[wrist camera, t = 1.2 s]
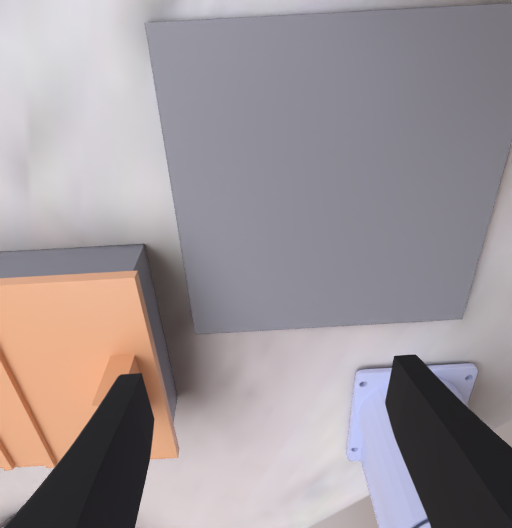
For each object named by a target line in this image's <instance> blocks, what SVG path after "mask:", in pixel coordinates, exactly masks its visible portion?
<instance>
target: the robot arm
mask: <svg viewBox="0 0 512 528" xmlns="http://www.w3.org/2000/svg"><path fill="white" fill-rule="evenodd" d="M477 373H478V369H477V367H476V366H475V365H474V364H472V363H466V364H449V365H432V366H426V365H425V364H424V363H423V361H422V360H421V359H420V358H419V357H418V356H416V355H402V356H394V360H393V365H392V368H379V369H363V370H359V371H358V372H357V373H356V374H355V381H354V389H353V398H352V407H351V416H350V425H349V433H348V442H347V451H346V455H347V459H348V460H349V461H361V464H362V467H363V471H364V475H365V478H366V482H367V486H368V489H369V493H370V496H371V500H372V504H373V508H374V511H375V515H376V519H377V522H378V526H379V528H512V448H511V447H510V446H509V445H508V444H507V443H506V442H505V441H504V440H502V439H501V438H500V437H499V436H498V435H497V434H496V433H494V432H493V431H492V430H491V429H490V428H489V427H488V426H487V425H486V424H485V423H484V422H483V421H481V420H480V419H479V418H478V417H477V416H476V415H475V414H474V413H473V412H472V411H471V410H470V409H469V407H468V405H467V403H468V400H469V397H470V394H471V391H472V388H473V385H474V382H475V379H476V376H477ZM363 381H364V382H363ZM154 420H155V419H154V415H153V412H152V408H151V405H150V401H149V397H148V394H147V390H146V387H145V383H144V380H143V376H142V373H135V374H121V375H119V376H118V377H117V378H116V380H115V382H114V383H113V385H112V386H111V388H110V390H109V391H108V393H107V394H106V396H105V397H104V399H103V400H102V402H101V403H100V405H99V407H98V408H97V410H96V411H95V413H94V414H93V415H92V417H91V418H90V420H89V421H88V423H87V424H86V426H85V427H84V428H83V430H82V431H81V433H80V434H79V436H78V437H77V438H76V440H75V441H74V443H73V444H72V445H71V447H70V448H69V449H68V451H67V452H66V453H65V455H64V456H63V457H62V459H61V460H60V461H59V462H58V464H57V465H56V466H55V468H54V469H53V470H52V472H51V473H50V474H49V475H48V477H47V478H46V479H45V480H44V482H43V483H42V484H41V485H40V487H39V488H38V489H37V490H36V491H35V493H34V494H33V495H32V496H31V497H30V499H29V500H28V501H27V502H26V503H25V504H24V505H23V507H22V508H21V509H20V510H19V511H18V512H17V513H16V515H15V516H14V517H13V518H12V519H11V520H10V521H9V522H8V523H7V525H6V526H5V527H4V528H135V524H136V520H137V515H138V511H139V506H140V502H141V497H142V493H143V488H144V484H145V479H146V475H147V470H148V466H149V461H150V456H151V448H152V440H153V430H154Z"/></svg>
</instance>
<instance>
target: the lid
mask: <svg viewBox="0 0 512 528" xmlns="http://www.w3.org/2000/svg"><path fill="white" fill-rule="evenodd" d="M135 373H142V376H143V380H144V383H145V387H146V390H147V394H148V397H149V401H150V405H151V408H152V412H153V415H154V419H155V420H154V430H153V440H152V448H151V456H150V459H166V458H178V454H179V446H178V441H177V437H176V433H175V429H174V424H173V420H172V416H171V412H170V407H169V403H168V399H167V394H166V390H165V386H164V382H163V377H162V373H161V369H160V364H159V360H158V356H157V352H156V347H155V343H154V339H153V335H152V330H151V326H150V322H149V317H148V313H147V309H146V305H145V300H144V296H143V292H142V288H141V283H140V279H139V275H138V271H120V272H103V273H85V274H67V275H49V276H32V277H14V278H0V468H3V469H4V470H13V469H14V467H28V466H46V468H55V466H56V465H57V464H58V462H59V461H60V460H61V459H62V457H63V456H64V455H65V453H66V452H67V451H68V449H69V448H70V447H71V445H72V444H73V443H74V441H75V440H76V438H77V437H78V436H79V434H80V433H81V431H82V430H83V428H84V427H85V426H86V424H87V423H88V421H89V420H90V418H91V417H92V415H93V414H94V413H95V411H96V410H97V408H98V407H99V405H100V403H101V402H102V400H103V399H104V397H105V396H106V394H107V393H108V391H109V390H110V388H111V386H112V385H113V383H114V382H115V380H116V378H117V377H118V376H119V375H121V374H135Z"/></svg>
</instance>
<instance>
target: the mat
mask: <svg viewBox="0 0 512 528" xmlns="http://www.w3.org/2000/svg"><path fill="white" fill-rule="evenodd" d="M145 29H146V35H147V41H148V47H149V54H150V60H151V66H152V72H153V78H154V84H155V91H156V97H157V103H158V109H159V115H160V121H161V128H162V134H163V140H164V146H165V152H166V158H167V164H168V171H169V177H170V183H171V189H172V195H173V201H174V208H175V214H176V220H177V226H178V232H179V238H180V245H181V251H182V257H183V263H184V269H185V275H186V281H187V288H188V294H189V300H190V306H191V312H192V318H193V325H194V331H195V334H212V333H230V332H247V331H265V330H282V329H300V328H317V327H335V326H352V325H370V324H387V323H405V322H423V321H440V320H458V319H462V318H463V315H464V311H465V307H466V304H467V300H468V297H469V293H470V289H471V286H472V282H473V279H474V275H475V271H476V268H477V264H478V261H479V257H480V253H481V250H482V246H483V243H484V239H485V236H486V232H487V228H488V225H489V221H490V218H491V214H492V210H493V207H494V203H495V200H496V196H497V192H498V189H499V185H500V182H501V178H502V174H503V171H504V167H505V164H506V160H507V156H508V153H509V149H510V146H511V142H512V3H503V4H485V5H466V6H448V7H429V8H411V9H392V10H374V11H355V12H337V13H318V14H299V15H281V16H262V17H244V18H225V19H207V20H188V21H170V22H151V23H145Z"/></svg>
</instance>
